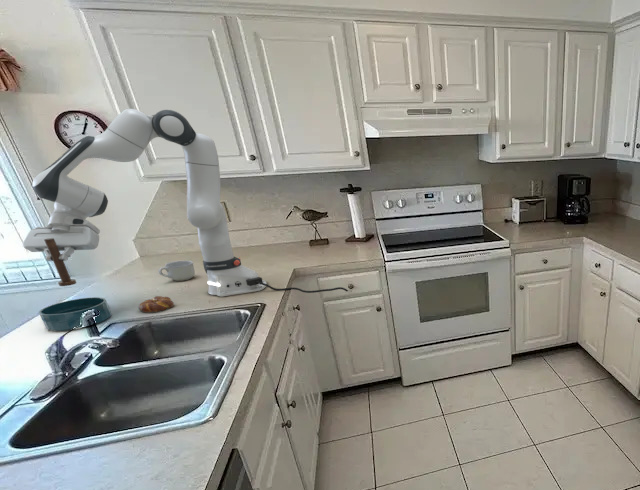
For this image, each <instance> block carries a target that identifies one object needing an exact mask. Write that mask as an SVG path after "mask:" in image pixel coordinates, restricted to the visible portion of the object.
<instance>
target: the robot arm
mask: <svg viewBox="0 0 640 490" xmlns="http://www.w3.org/2000/svg"><path fill="white" fill-rule="evenodd" d="M155 138H156V139H157V138H161V139H164V141H165V140H166V141H168V142H171V143H175V144H176V145H180V146H181V148H182V150H183V151H182V152H183V156H184V166H185V175H186V176H185V177H186V218H187V221H188V222H189V223H190V224H191V225H192V226H193V227H195V228H196V229H197V237H198V238H197V239H198V247H199V249H200V252H201V256H202V259H203V260H202V266H203V269H204V272H205V274H206V277H207V285H208V291H207V294H209V295H212V296H217V297H227V296H228V297H229V296H236V295H242V294H248V293H255V292H260V291H262V290H264V289H265V288H266V287H267V288H269V289H271V290H273V291H278V292H279V291H291V290H296V291H299V292H302V293H306V294H313V293H314V294H315V293H321V292H332V291H338V290H342V291H345V292H349V290H348V289H347V288H345V287H342V286H337V287H333V288H323V289H316V290H304V289H301V288H300V287H284V288H277V287H273V286H272V285H269V284H268V282H267V280H264V279H263V278H262V277H261V276H260V275H259V273H258V272H257V271H256V270H254V269H251V268H249V267H247V266H245V265H243V264H242V261H241V257H236V256H235V254H234V252H233V247H232V243H231V239H230V233H229V226H228V221H227V215H226V211H225V208H224V206H223V204H222V203H221V186H222V184H221V172H220V170H221V169H220V160H219V155H218V150H217V146H216V143H215V141H214V140H213V138H212V137H210V136H208V135H207V134H205V133H199V132H196V131H195V130H194V128H193V127H192V125H191V124H190V122H189V121H188V120H187V118H186V117H185V116H184V115H183V114H181V113H180V112H178V111H176V110H172V109H162V110H159V111H157V112H156V113H155V114H152V115H149V114H146V113H144V112H143V111H140V110H138V109H135V108H126V109H124V110H122V111H121V112H120V113H119V114H118V115H117V116H116V117H115V118H114V119H112V121H111V122H110V123H109V125H108V126H107V128H105V130H104V131H103V132H102V133H99V134H98V135H95V136H92V135H87V136H84V137H82V138H80V139H79V140H78V141H77V142H75V143H74V144H73V145H72V146H70V147H69V148H68V149H67V150H66V151H65V152H64V153H62V154H61V155H60V157H58V158H57V159H56V160H54V162H53V163H52V164H51V165H49V166H48V167H46V168H45V169H44V170H42V171H40V172H39V173H38V174H37V175H36V176H35V177H34V178H33V180H32V182H31V188H32V190H33V191H34V193H35V194H36V195H37V197H39V198H40V199H43V200H46V201H49V202H52V203H53V210H52V212H51V213H50V216H49V219H48V221H47V222H48V223H47V226H42V227H41V226H37V227H35V228H33V229H30V230H29V232H28V233H27V234H26V236H25V238H24V240H23V242H22V247H23V248H24V249H26V250H27V251H28V252H31V253H45V260H46V261H47V262H53V260H52V257H51V255H50V253H49V250H48V248H47V246H46V243H45V241H44V239H49V238H54V240H55V242H56V244H57V247H58V249H59V252H62V253H60V254H59V259H60V260H61V261H64V262H65V261H68V259H69V257H70V256H71V255H72V254H74V253H75V251H87V250H90V251H91V250H95V249H96V248H98V246H99V243H100V235H99V234H100V232H101V230H100V229H99V227H97V226H96V225H95V224H93V223H92V222H90V221H89V220H87V218H94V217H98V216H101V215H103V214H104V213H105V211H106V210H107V207H108V204H109V200H108V197H107V195H106V193H105V192H104V191H101V190H99V189H97V188H95V187H92V186H90V185H88V184H85V183H83V182H80V181H78V180H77V179H73V178H72V177H69V176H68V175H69V174H70V173H72V172H73V171H74V170H75V169H76V168H77V167H79V165H80V164H81V163H82V162H84V161H85V160H87V159H103V160H107V161H112V162H116V163H117V162H118V163H131V162H134V161H136V160H138V158H140V156H141V155H142V154H143V153H144V152H145V150H146V148H147V147H148V145H149V144H150V143H151V141H153V140H154V139H155Z"/></svg>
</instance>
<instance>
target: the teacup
mask: <svg viewBox="0 0 640 490" xmlns="http://www.w3.org/2000/svg"><path fill="white" fill-rule="evenodd" d="M163 270H165V271H166V273H167V274H165V273H163ZM195 273H196V270H195V266H194V262H193V260H185V259H184V260H183V259H182V260H175V261H170V262H167V263H165V264H164V266H161V267H159V269H158V274H159V275H160V276H162V277H165V278H168V279H171V280H173V281H176V282H183V281H189V280H191V279H192V278H194V276H195Z"/></svg>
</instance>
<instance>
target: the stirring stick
mask: <svg viewBox="0 0 640 490" xmlns="http://www.w3.org/2000/svg"><path fill="white" fill-rule="evenodd" d="M44 241H45V243H46V246H47V248H48V250H49V253H50V255H51V257H52V260H53V261H52V262H53V264H54V267H55V269H56V272H57V274H58V277H59V279H60V280H59V281H58V282H57V284H58V286H59V287H68V286H74V285H76V284H77V280H76V279H74V278H71V276H70V274H69V271H68V269H67V266H66V263H65V261H61V260H60V259H59V254H61V251H59V249H58V247H57V244H56V242H55V240H54V238H49V239H44Z"/></svg>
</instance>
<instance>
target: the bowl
mask: <svg viewBox="0 0 640 490" xmlns="http://www.w3.org/2000/svg"><path fill="white" fill-rule="evenodd" d="M92 309H97V310H99V311H100V315H99V316H97V317H95V321H96V324H95V325H97V324H101V323H102V322H105V321H106V320H107V319H108V318H110V317H111V316H112V312H111V309H110V307H109V304H108V302H107V299H106V298H104V297H98V296H97V297H96V296H95V297H94V296H93V297H82V298H75V299H70V300H65V301H62V302H56V303H54V304H51V305H48V306H46V307H43V308H42V309H40V310H39V311H38V314H39V317H40V319H41V321H42V323H43V326H44V328H45V329H46V330H49V331H56V332H65V331H72V330H71V329H73V328H74V327H77V326H79V325H80V317H81V315H82V313H84V312H86V311H88V310H92Z"/></svg>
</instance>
